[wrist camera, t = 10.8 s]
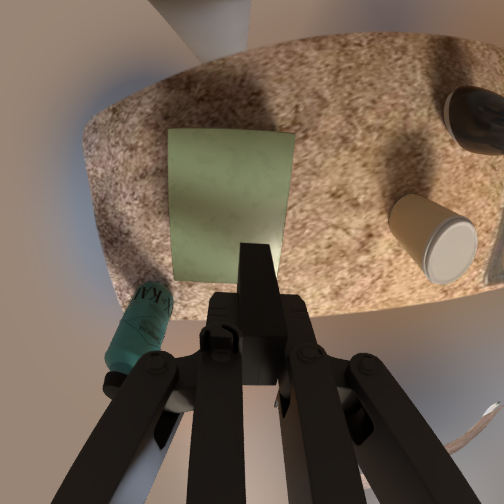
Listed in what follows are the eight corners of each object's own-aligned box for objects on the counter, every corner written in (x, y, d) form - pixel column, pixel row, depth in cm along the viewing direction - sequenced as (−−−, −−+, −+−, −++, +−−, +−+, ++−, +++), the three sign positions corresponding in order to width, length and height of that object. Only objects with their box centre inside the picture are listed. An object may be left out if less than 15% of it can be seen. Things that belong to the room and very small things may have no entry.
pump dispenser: (468, 82, 26) (538, 89, 13) (479, 142, 31) (546, 166, 18) (426, 85, 28) (503, 88, 14) (440, 152, 32) (512, 180, 19)
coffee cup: (422, 246, 40) (463, 286, 29) (377, 242, 39) (416, 287, 29) (437, 193, 36) (487, 223, 25) (392, 183, 35) (441, 213, 24)
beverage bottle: (166, 314, 44) (137, 418, 26) (131, 294, 42) (86, 394, 24) (184, 288, 42) (156, 399, 24) (146, 266, 40) (96, 370, 22)
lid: (169, 127, 23) (167, 128, 23) (294, 133, 24) (295, 133, 23) (175, 276, 31) (173, 280, 31) (275, 281, 32) (276, 285, 31)
